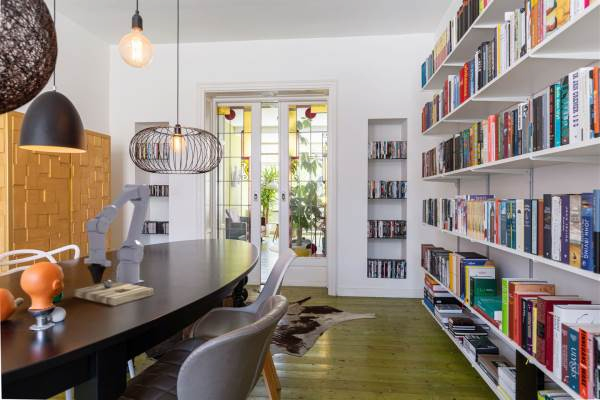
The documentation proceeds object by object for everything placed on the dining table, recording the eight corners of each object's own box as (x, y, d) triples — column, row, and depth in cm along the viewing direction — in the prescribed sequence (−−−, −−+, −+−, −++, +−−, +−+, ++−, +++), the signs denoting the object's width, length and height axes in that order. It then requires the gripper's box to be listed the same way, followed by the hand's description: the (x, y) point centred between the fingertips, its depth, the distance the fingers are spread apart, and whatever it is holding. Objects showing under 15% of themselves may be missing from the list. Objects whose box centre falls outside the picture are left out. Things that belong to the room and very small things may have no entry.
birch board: (74, 296, 134) (74, 289, 134) (114, 287, 148) (114, 281, 148) (114, 305, 123) (114, 298, 123) (153, 294, 137) (153, 288, 137)
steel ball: (101, 288, 137) (101, 279, 137) (109, 286, 139) (109, 278, 139) (106, 289, 135) (106, 280, 135) (114, 287, 138) (114, 279, 138)
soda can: (66, 299, 129) (66, 267, 129) (52, 303, 125) (52, 269, 125) (56, 298, 131) (56, 266, 131) (42, 302, 126) (42, 268, 126)
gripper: (76, 248, 140) (76, 282, 140) (98, 251, 133) (98, 287, 133) (94, 246, 147) (93, 279, 147) (116, 249, 140) (115, 283, 140)
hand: (97, 283), depth 140 cm, fingers closed
